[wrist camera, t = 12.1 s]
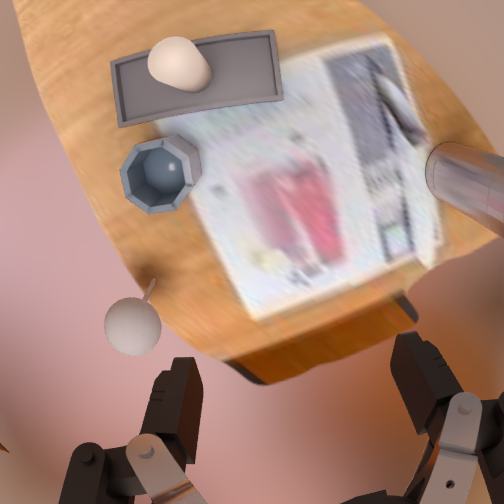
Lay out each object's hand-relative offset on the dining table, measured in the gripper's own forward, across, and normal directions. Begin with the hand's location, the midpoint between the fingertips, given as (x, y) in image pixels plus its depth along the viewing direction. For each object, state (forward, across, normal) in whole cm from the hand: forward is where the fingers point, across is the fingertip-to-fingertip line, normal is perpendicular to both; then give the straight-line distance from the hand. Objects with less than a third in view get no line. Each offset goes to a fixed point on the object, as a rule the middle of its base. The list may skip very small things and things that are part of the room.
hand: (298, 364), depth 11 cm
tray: (+31, +7, -15) cm, 35 cm away
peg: (+30, +7, -15) cm, 34 cm away
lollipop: (+31, +18, +12) cm, 38 cm away
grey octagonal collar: (+31, +12, -4) cm, 33 cm away
